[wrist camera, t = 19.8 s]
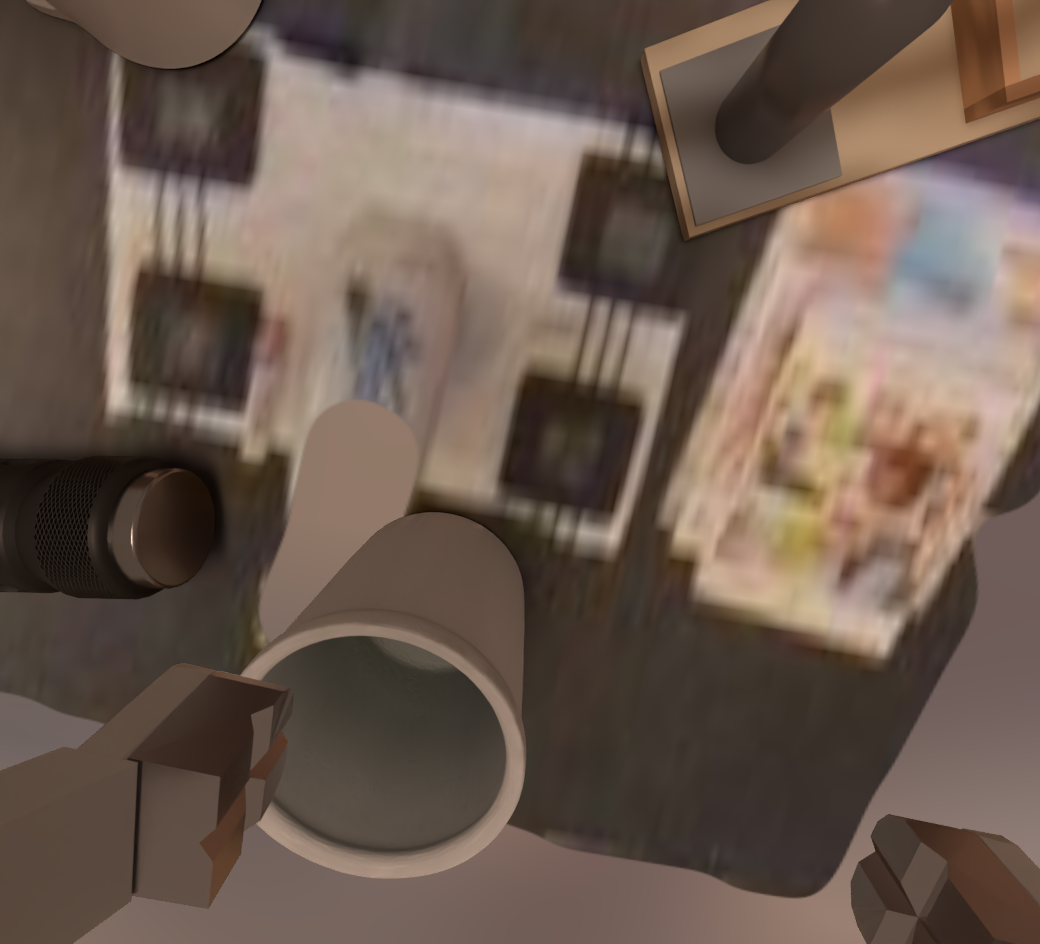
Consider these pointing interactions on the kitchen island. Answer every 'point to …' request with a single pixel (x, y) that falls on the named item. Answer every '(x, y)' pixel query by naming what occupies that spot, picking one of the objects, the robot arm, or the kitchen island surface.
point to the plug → (815, 68)
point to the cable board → (839, 107)
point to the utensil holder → (403, 703)
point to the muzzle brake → (101, 526)
